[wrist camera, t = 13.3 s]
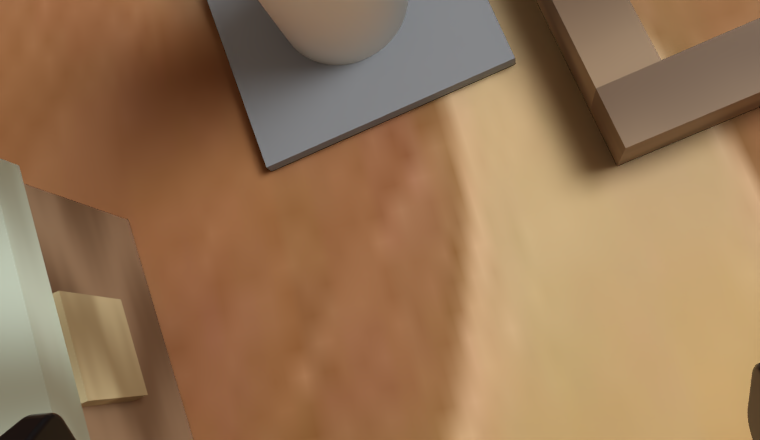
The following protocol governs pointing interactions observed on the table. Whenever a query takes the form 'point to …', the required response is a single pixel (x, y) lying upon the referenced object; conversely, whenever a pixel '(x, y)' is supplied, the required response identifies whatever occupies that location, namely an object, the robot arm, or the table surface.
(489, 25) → the mat
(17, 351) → the toolbox
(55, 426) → the robot arm
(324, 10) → the key peg
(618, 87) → the brown square frame
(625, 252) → the table surface
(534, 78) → the table surface
